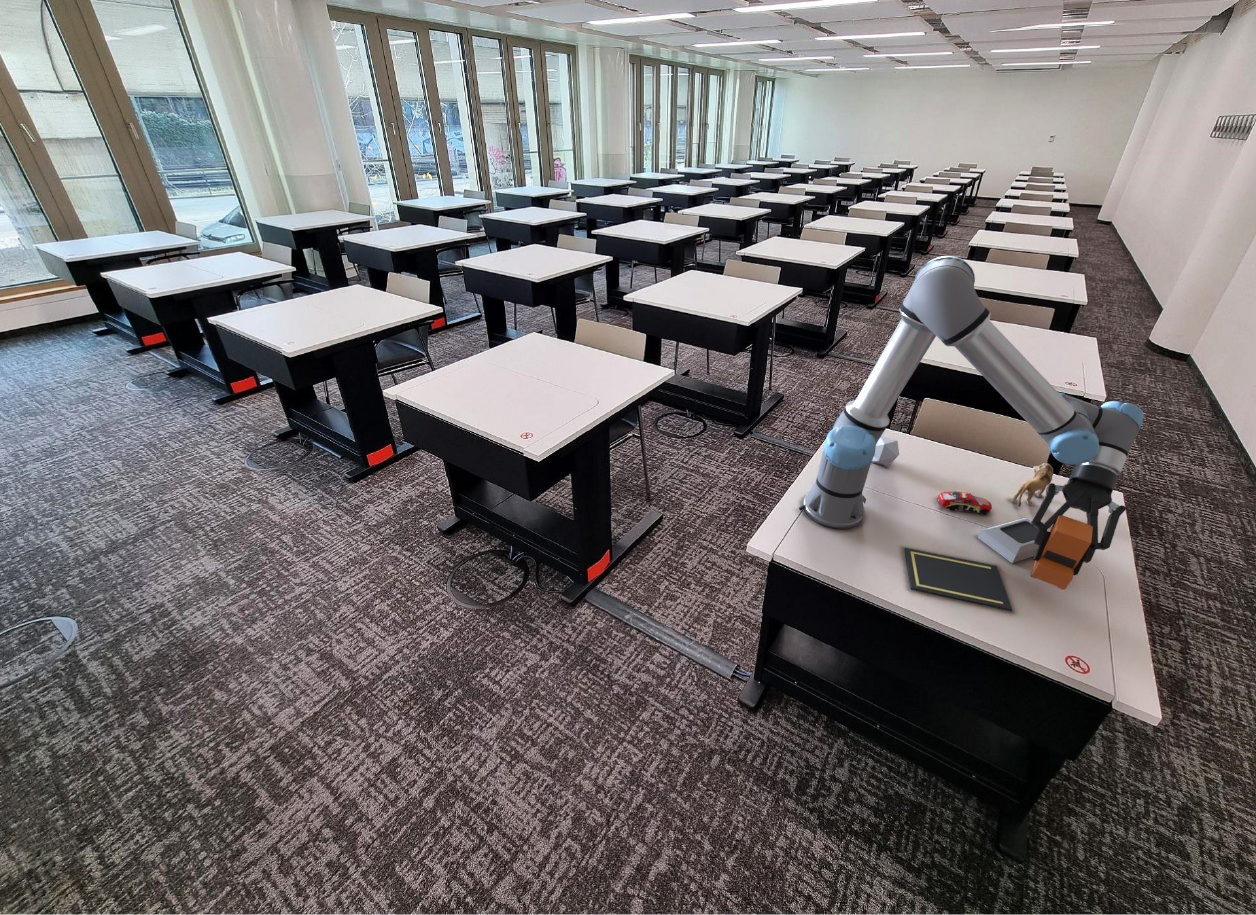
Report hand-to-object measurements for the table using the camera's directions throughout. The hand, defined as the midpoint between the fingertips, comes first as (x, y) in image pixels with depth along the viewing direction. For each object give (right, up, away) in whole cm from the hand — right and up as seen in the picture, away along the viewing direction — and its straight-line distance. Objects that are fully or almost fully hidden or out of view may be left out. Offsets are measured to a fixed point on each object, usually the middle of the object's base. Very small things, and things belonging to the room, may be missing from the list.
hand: (1054, 566), depth 113 cm
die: (-13, +22, +50) cm, 57 cm away
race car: (0, +10, +32) cm, 33 cm away
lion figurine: (+21, +12, +36) cm, 43 cm away
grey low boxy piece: (+6, +2, +19) cm, 20 cm away
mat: (-16, -4, +9) cm, 19 cm away
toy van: (+1, -2, +3) cm, 4 cm away
